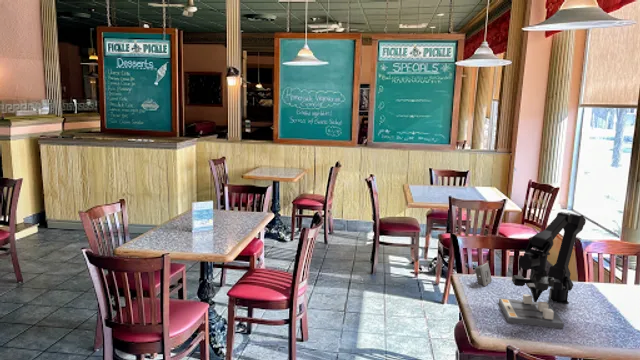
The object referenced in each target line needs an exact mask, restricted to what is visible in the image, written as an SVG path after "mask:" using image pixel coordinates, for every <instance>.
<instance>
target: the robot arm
mask: <svg viewBox="0 0 640 360" xmlns="http://www.w3.org/2000/svg"><path fill="white" fill-rule="evenodd" d="M586 220H587V219H586V218H585V217H584V215H583V214H578V213H573V212H563V211H559V212H558V213H557V214H556V216H555V218H554V219H553V220H552V221H551V222H550V223H549V224H548V225H547V226H546V228H544V229H543V230H542V231H540V232H537V233H536V234H534V235H533V236H532V237H531V238H530V240H529V242H528V244H527V246H526V248H525V252H523V256H522V255H521V257H520V258H518V265H519V267H520V268H521V269H522V270H524V271H530V273H529V278H525V277H524V276H523V275H517V274H515V275H512V277H511V282H512V284H513V285H514V286H517V287H524V286H525V285H526V287H527V288H528V289H529V290H530V292H531V296H532V297H533V298H532V301H533V302H538V300H539V298H540V296H541V295H542V294H543V292H544V291H548V290H549V291H548V292H549V294H548V298H549V299H550V300H551V302H553V303H559V304H561V303H562V304H570V302H569V301H568V298H569V291H572V289H573V288H574V283H573V282H572V279H571V271H570V267H569V266H570V265H569V264H570V261H571V257H572V255H573V254H572V253H573V249H574V246H575V243H576V240H577V236H578V234H579V233H581V231H582V230H583V229H584V226H585V225H586V222H587V221H586ZM562 230H563V231H564V232H563V236H562V239H561V243H560V248H559V251H558V255H557V258H556V261H555V263H554V264H553V265H550V266H549V270H548V271H547V263H548V256H550V255H551V253H550V251H551V249H552V248H553V246H554V239H555V238H556V237H557V236H558V235H559V234H560V232H561V231H562ZM547 272H548V273H547ZM549 287H550V288H549Z"/></svg>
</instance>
